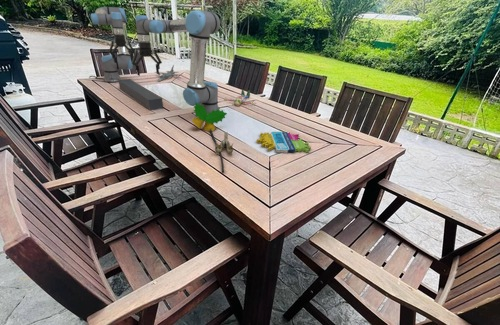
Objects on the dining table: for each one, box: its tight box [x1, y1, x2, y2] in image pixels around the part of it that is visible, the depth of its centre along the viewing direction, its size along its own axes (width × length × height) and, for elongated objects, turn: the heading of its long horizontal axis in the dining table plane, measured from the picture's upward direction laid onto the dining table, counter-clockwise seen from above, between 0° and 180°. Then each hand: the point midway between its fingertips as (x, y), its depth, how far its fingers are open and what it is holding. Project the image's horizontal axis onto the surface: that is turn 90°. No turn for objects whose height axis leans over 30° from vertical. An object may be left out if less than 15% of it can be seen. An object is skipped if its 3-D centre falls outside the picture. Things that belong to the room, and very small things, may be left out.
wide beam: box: [118, 78, 164, 111], centre depth 212 cm, size 70×10×7 cm, turn 40°
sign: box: [256, 131, 312, 154], centre depth 152 cm, size 26×2×30 cm
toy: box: [223, 89, 257, 106], centre depth 219 cm, size 28×7×30 cm
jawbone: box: [214, 131, 234, 156], centre depth 136 cm, size 9×15×10 cm
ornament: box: [191, 102, 228, 132], centre depth 162 cm, size 21×8×15 cm, turn 105°
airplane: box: [154, 64, 181, 82], centre depth 278 cm, size 38×31×10 cm
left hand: (123, 62), depth 220 cm, fingers open, 13 cm apart
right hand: (148, 74), depth 184 cm, fingers open, 13 cm apart
